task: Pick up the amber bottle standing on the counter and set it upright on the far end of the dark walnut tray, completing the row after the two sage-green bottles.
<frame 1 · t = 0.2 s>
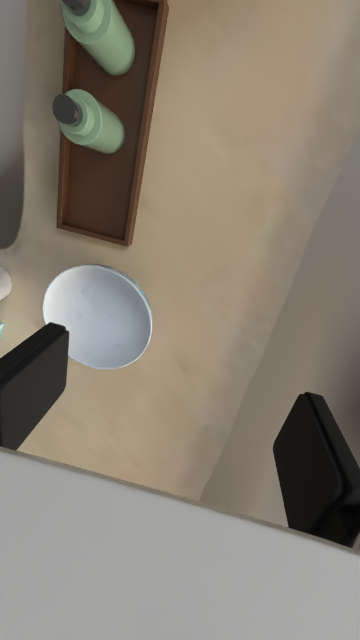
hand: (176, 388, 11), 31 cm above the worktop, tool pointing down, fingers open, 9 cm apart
tray: (108, 133, 35), on the worktop
chinaware: (116, 301, 45), on the worktop
green bottle 2: (106, 132, 35), resting on tray
green bottle 1: (115, 49, 31), resting on tray
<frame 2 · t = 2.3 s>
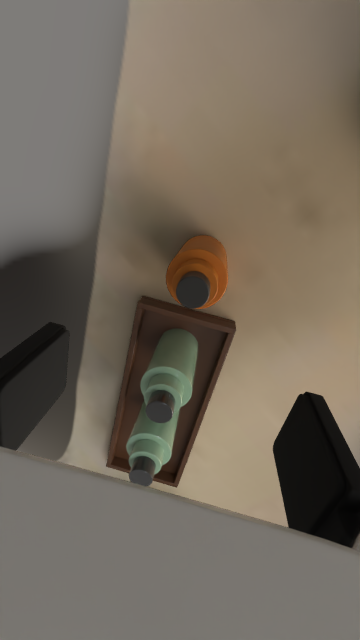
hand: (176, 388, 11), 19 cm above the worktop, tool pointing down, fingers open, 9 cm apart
amber bottle: (202, 259, 28), on the worktop
tray: (163, 398, 35), on the worktop
green bottle 2: (162, 401, 35), resting on tray
green bottle 1: (178, 346, 31), resting on tray
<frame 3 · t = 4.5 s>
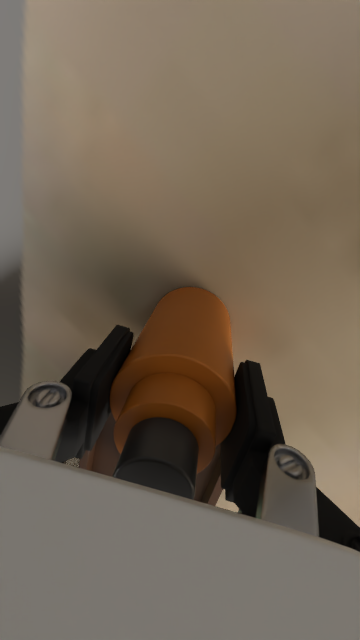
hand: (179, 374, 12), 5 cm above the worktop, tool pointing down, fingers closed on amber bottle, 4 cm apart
amber bottle: (191, 323, 17), on the worktop, touching gripper
tray: (140, 505, 24), on the worktop
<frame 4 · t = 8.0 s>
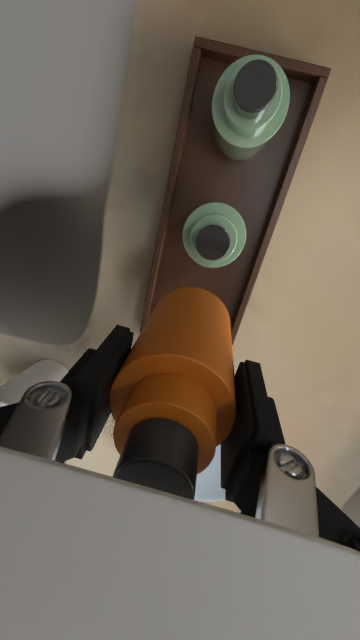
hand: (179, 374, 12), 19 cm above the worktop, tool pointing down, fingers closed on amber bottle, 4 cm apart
amber bottle: (191, 323, 17), point 14 cm above the worktop, touching gripper
dixie cup: (53, 376, 38), on the worktop
tray: (215, 225, 28), on the worktop
chinaware: (199, 404, 37), on the worktop
green bottle 2: (215, 226, 27), resting on tray
green bottle 1: (241, 129, 24), resting on tray
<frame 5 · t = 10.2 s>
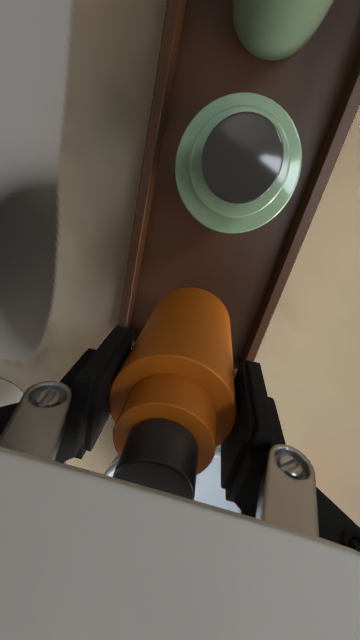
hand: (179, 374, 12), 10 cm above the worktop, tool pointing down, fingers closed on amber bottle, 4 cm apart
amber bottle: (190, 324, 17), point 5 cm above the worktop, touching gripper
dixie cup: (4, 400, 28), on the worktop
tray: (230, 179, 18), on the worktop
chinaware: (201, 440, 27), on the worktop
green bottle 2: (230, 179, 17), resting on tray
green bottle 1: (279, 0, 14), resting on tray
when the fingers open (6 cm above the worktop, at t = 11.7 s): amber bottle stays where it is, resting on tray.
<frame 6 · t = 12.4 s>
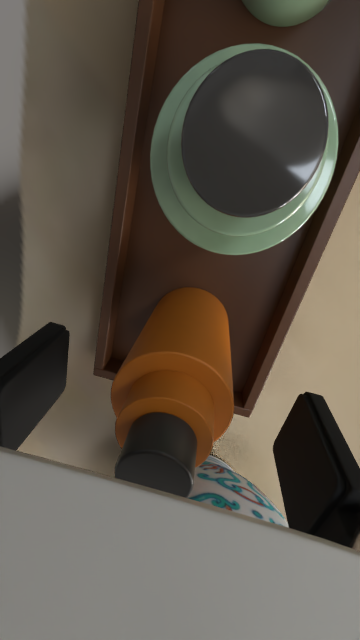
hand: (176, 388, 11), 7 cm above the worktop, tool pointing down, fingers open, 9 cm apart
amber bottle: (190, 323, 17), resting on tray
tray: (229, 179, 14), on the worktop
chinaware: (197, 479, 24), on the worktop
green bottle 2: (230, 179, 14), resting on tray
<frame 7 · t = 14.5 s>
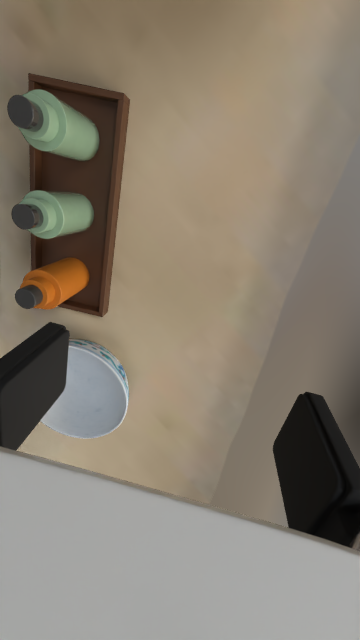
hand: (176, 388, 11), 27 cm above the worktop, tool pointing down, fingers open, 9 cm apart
amber bottle: (73, 274, 38), resting on tray
tray: (78, 212, 36), on the worktop
chinaware: (95, 363, 45), on the worktop
green bottle 2: (76, 212, 35), resting on tray
green bottle 1: (80, 138, 32), resting on tray
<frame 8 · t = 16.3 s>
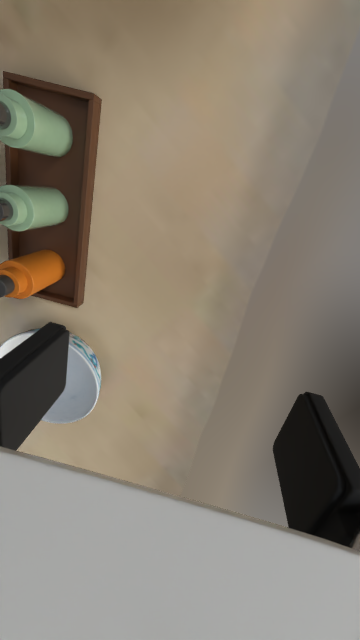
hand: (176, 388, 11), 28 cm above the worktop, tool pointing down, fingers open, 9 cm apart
amber bottle: (49, 265, 40), resting on tray
tray: (53, 206, 37), on the worktop
chinaware: (72, 352, 46), on the worktop
green bottle 2: (51, 206, 37), resting on tray
green bottle 1: (54, 134, 33), resting on tray
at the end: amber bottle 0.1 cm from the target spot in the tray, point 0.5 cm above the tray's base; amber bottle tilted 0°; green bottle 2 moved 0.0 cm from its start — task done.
